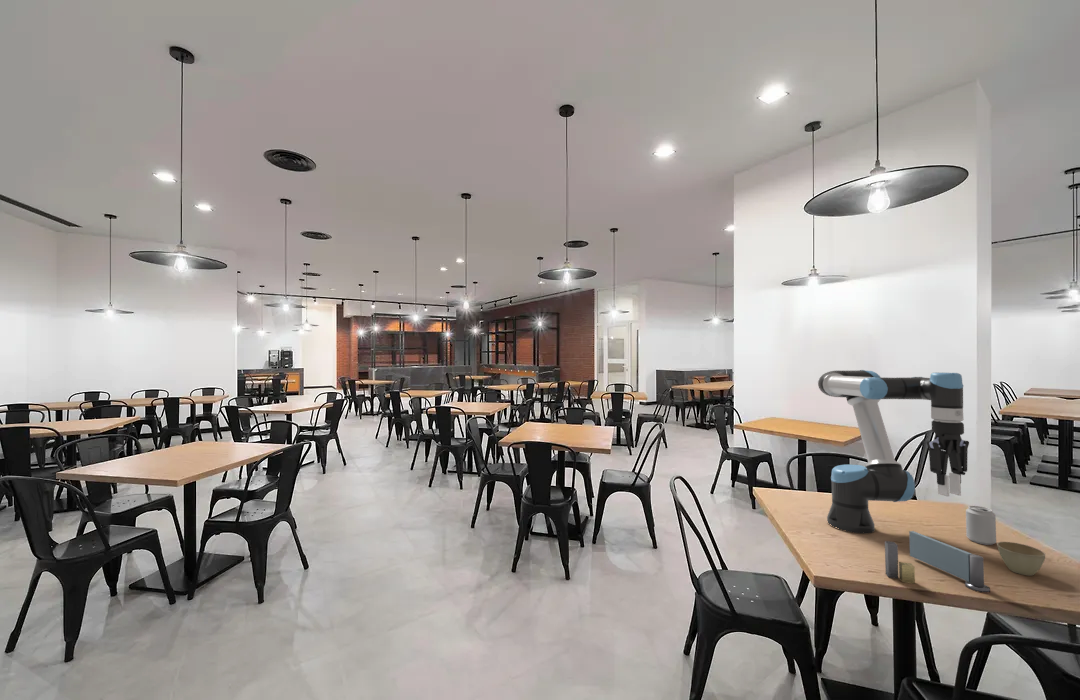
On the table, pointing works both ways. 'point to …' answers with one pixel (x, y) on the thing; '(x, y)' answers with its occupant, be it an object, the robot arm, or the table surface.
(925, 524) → the table surface
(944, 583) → the table surface
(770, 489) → the table surface
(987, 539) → the can
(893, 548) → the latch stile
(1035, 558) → the olive beige bowl
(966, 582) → the hinge flange
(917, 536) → the gate
